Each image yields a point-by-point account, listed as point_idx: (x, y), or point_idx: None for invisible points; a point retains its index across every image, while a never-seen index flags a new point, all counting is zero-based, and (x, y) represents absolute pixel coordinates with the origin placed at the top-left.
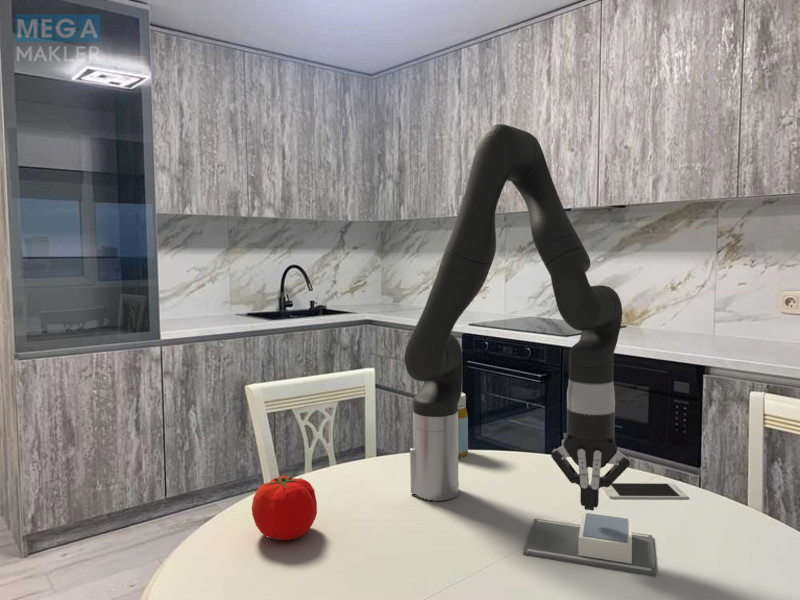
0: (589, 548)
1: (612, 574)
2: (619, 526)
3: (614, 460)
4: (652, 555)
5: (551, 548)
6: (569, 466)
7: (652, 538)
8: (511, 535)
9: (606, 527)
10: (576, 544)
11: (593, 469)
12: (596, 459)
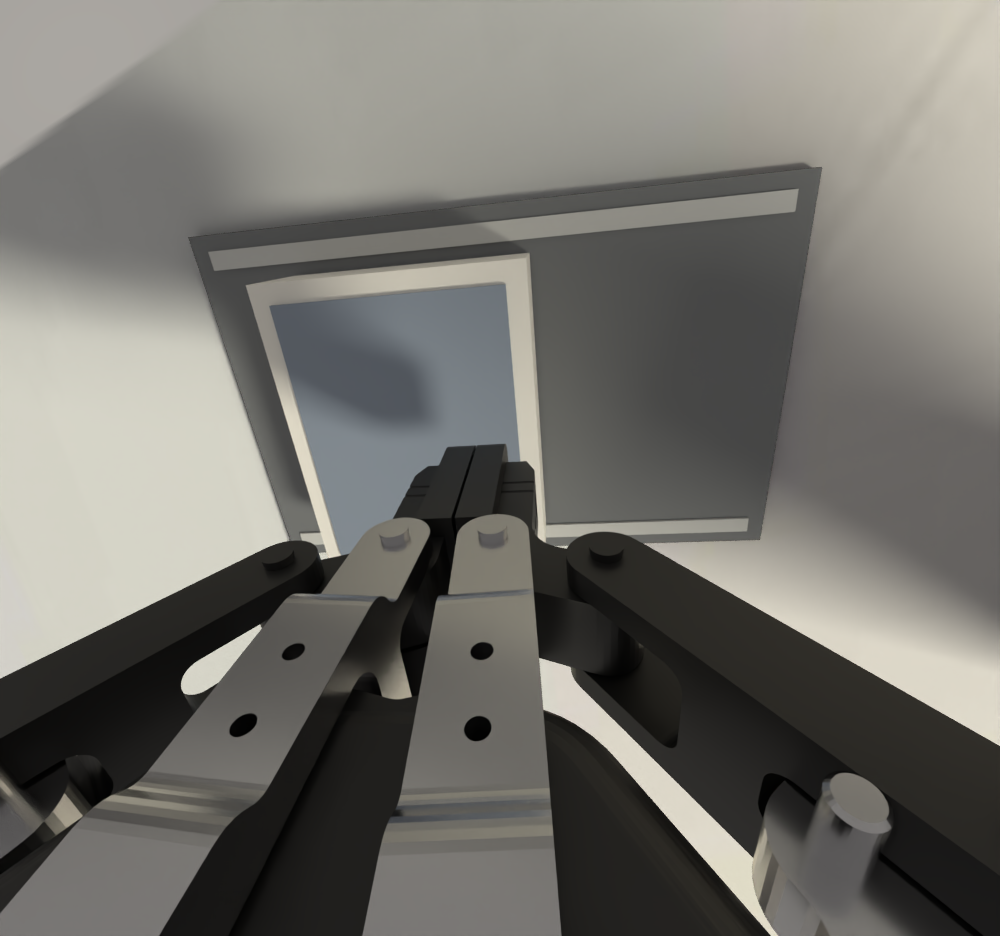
0: (471, 260)
1: (357, 162)
2: (352, 467)
3: (8, 847)
4: (248, 396)
5: (666, 279)
6: (671, 732)
7: (287, 529)
8: (874, 359)
9: (405, 433)
10: (553, 370)
11: (330, 648)
12: (174, 809)
